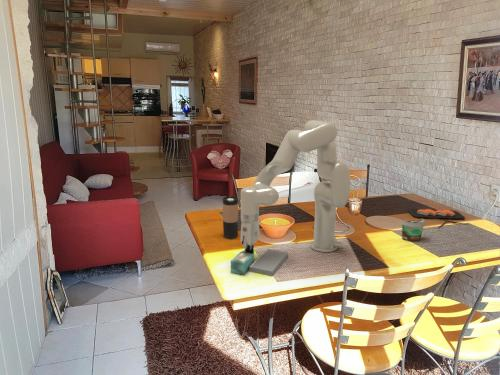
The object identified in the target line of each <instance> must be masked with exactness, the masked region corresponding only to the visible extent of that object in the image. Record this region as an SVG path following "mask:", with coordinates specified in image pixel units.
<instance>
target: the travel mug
mask: <svg viewBox="0 0 500 375" xmlns="http://www.w3.org/2000/svg"><path fill="white" fill-rule="evenodd" d="M222 231H223V237H224V239H227V240H233V239H237V238H238V236H239V235H238V234H239V198H238V197H236V196H229V195H228V196H225V197H223V198H222Z"/></svg>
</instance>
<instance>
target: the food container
mask: <svg viewBox="0 0 500 375" xmlns="http://www.w3.org/2000/svg"><path fill="white" fill-rule="evenodd" d="M400 225H401V232H402V233H401V240H403V241H405V242H412V243H414V242H415V243H417V242H420V241H421V239H422V234H423V231H424V227H425V226H426V221H425V219H424V218H421V219H419V220H413V219H412V220H408V221H406V220H401V223H400Z"/></svg>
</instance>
